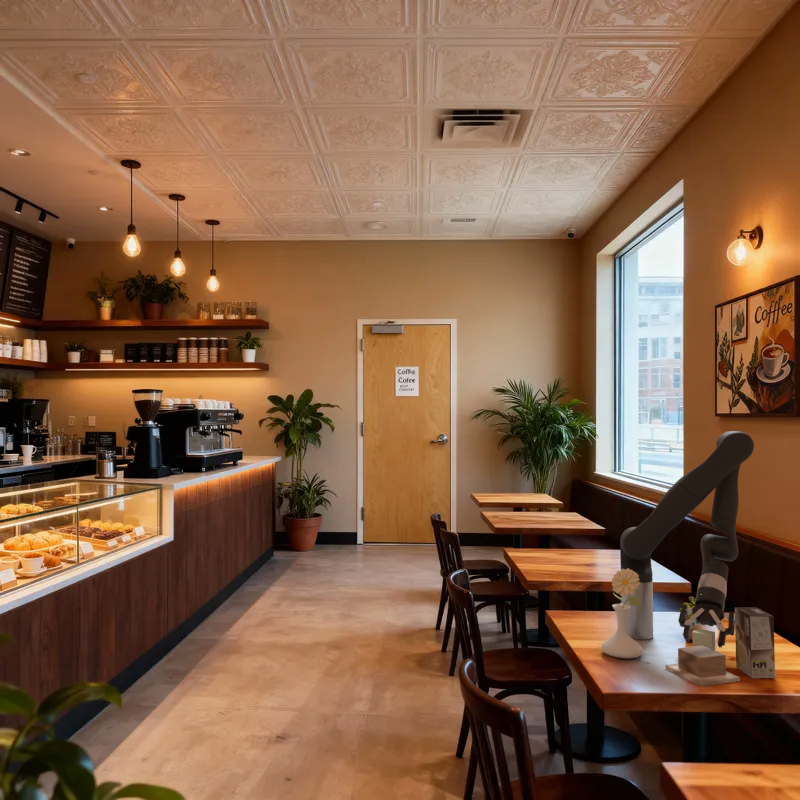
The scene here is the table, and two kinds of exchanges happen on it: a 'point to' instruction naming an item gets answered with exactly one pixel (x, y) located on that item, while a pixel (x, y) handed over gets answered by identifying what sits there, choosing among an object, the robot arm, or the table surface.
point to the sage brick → (704, 638)
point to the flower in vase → (623, 617)
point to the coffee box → (755, 642)
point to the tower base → (703, 680)
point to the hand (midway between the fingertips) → (703, 642)
